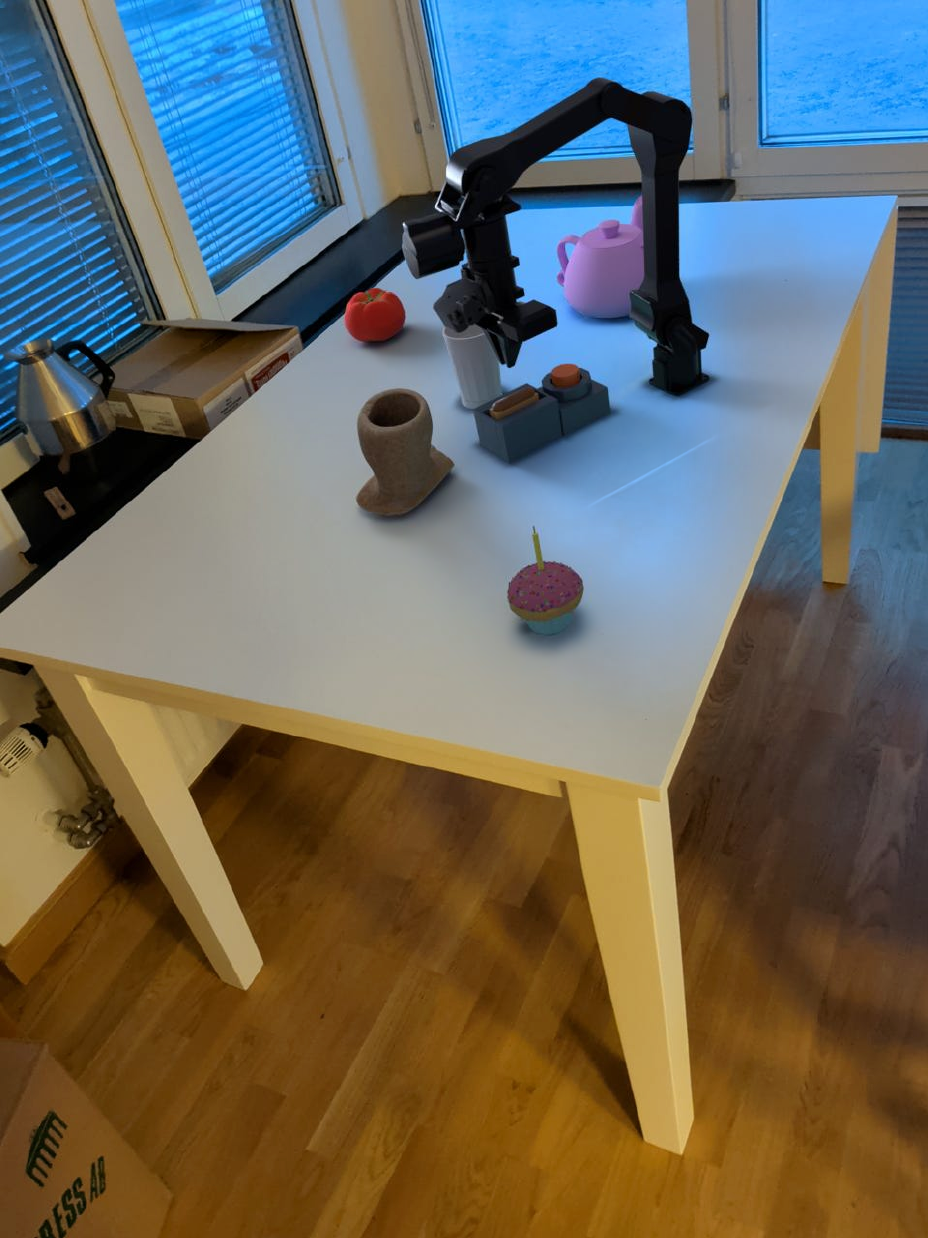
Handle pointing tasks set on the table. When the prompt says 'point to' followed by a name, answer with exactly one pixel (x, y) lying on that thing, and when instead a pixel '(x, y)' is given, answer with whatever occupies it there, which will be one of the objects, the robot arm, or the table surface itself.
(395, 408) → the stone cup
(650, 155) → the robot arm
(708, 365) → the table surface
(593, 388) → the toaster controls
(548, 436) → the toaster
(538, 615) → the cupcake
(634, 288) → the teapot
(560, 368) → the button
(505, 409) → the tan slab
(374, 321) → the tomato
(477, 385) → the cup
